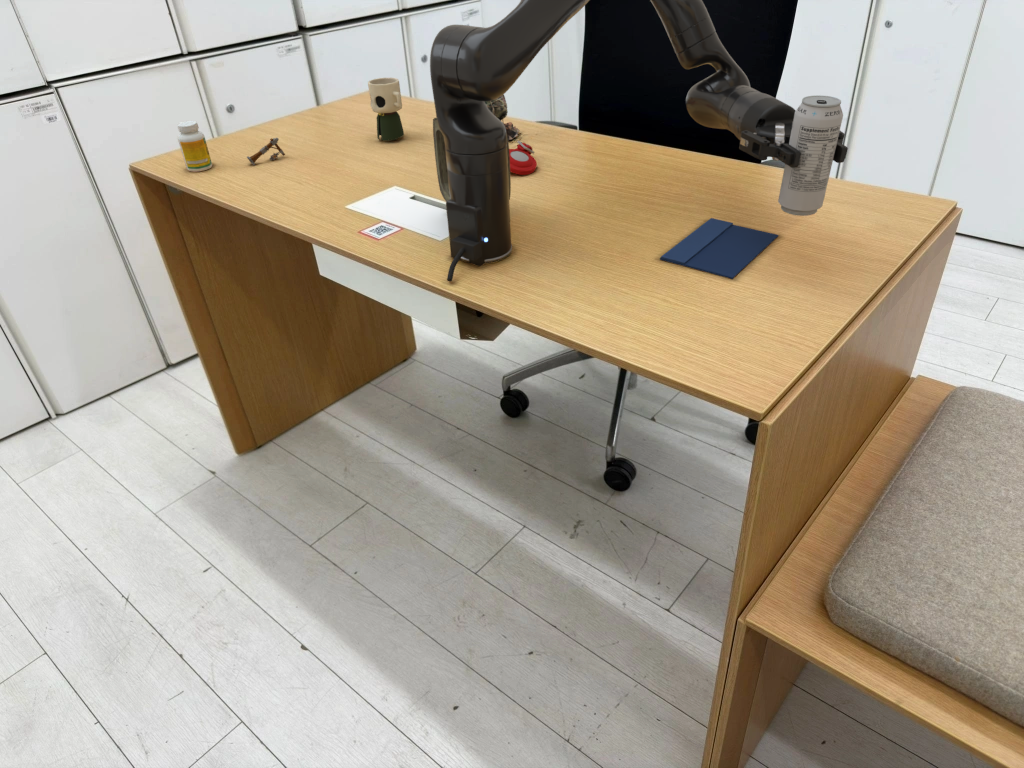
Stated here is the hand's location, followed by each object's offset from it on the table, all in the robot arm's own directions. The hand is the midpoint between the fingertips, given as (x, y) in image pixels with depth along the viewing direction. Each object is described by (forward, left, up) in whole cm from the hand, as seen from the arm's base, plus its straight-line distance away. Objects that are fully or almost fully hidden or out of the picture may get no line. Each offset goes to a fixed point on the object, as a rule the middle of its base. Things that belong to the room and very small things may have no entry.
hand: (820, 157), depth 95 cm
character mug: (+16, +102, -17) cm, 105 cm away
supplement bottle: (-21, +124, -17) cm, 127 cm away
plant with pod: (+30, +80, -17) cm, 87 cm away
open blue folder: (+2, +13, -17) cm, 22 cm away
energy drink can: (+2, +2, -8) cm, 9 cm away
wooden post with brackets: (-10, +115, -17) cm, 117 cm away
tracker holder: (+16, +64, -17) cm, 68 cm away
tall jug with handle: (-11, +53, -17) cm, 57 cm away
